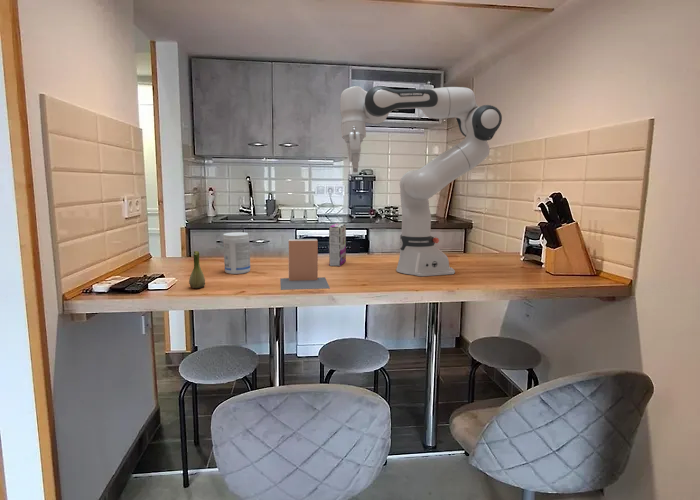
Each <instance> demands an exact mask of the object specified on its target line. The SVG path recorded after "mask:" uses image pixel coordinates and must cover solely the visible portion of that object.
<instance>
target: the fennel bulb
mask: <svg viewBox="0 0 700 500" xmlns="http://www.w3.org/2000/svg"><path fill="white" fill-rule="evenodd" d="M192 255H193V269H192V272H191V274H190V275H189V278H188V283H189V284H188V285H189V286H190V287H191V288H193V289H201V288H203V287H205V286H206V278H205V275H204V273H203V271H202V268H201V266H200V252H199V251H196V250H195V251H193V254H192Z"/></svg>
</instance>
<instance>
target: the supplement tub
mask: <svg viewBox="0 0 700 500" xmlns="http://www.w3.org/2000/svg"><path fill="white" fill-rule="evenodd" d="M222 239H223V240H222V241H223V242H222V243H223V261H224V262H223V264H224V272H225V273H226V274H229V275H239V274H241V275H242V274H247V273H249V272H250V271H251V251H250V248H251V247H250V246H251V245H250V236H249V233H248V232H246V231H245V232H244V231H243V232H242V231H239V232H238V231H237V232H233V231H232V232H225V233H223V237H222Z"/></svg>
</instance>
